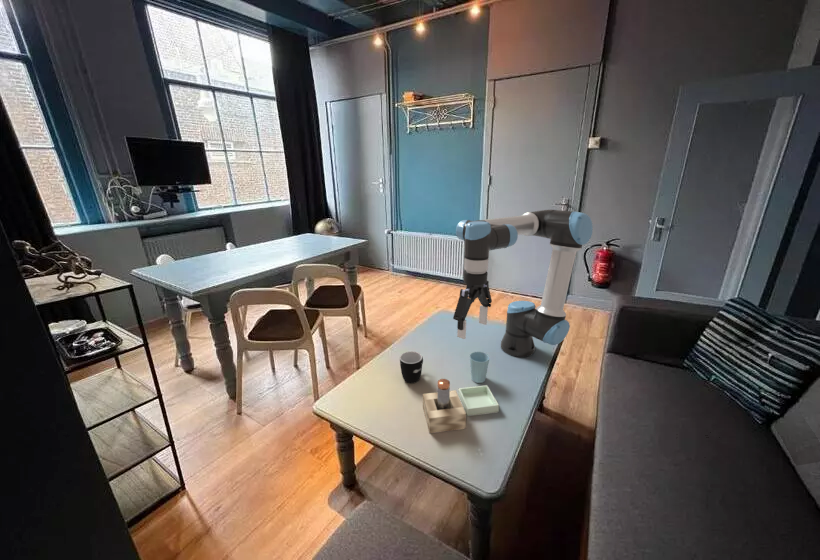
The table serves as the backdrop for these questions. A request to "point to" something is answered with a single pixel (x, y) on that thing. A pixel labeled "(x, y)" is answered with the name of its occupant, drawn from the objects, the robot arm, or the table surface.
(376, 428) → the table surface
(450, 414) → the eye block
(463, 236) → the robot arm
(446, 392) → the peg
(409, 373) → the mug
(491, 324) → the table surface
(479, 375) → the cup
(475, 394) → the tray
